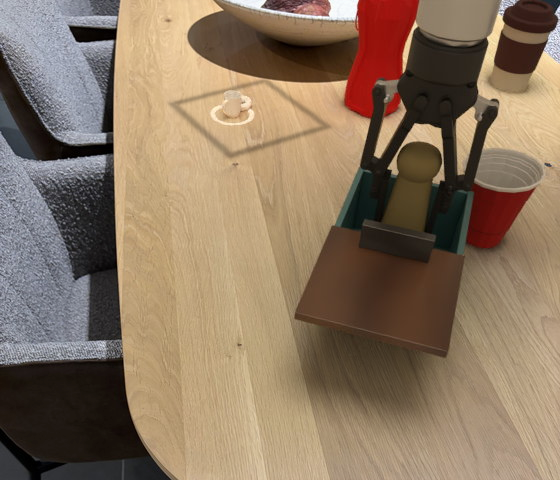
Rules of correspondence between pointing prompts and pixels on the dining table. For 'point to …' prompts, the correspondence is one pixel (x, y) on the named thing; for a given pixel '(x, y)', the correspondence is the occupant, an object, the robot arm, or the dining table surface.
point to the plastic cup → (500, 193)
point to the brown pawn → (413, 186)
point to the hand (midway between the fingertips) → (403, 225)
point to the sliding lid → (385, 287)
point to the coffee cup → (521, 43)
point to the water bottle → (379, 50)
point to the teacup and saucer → (234, 107)
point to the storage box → (446, 226)
